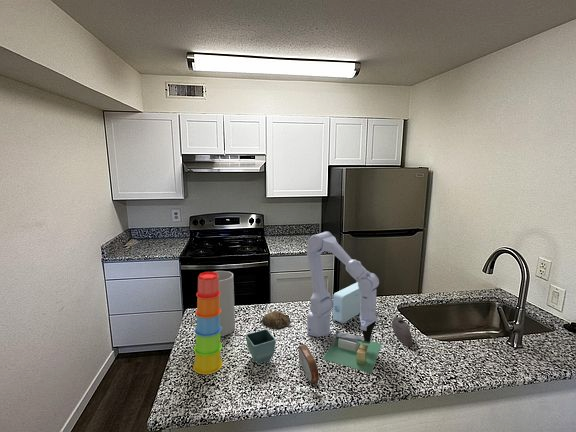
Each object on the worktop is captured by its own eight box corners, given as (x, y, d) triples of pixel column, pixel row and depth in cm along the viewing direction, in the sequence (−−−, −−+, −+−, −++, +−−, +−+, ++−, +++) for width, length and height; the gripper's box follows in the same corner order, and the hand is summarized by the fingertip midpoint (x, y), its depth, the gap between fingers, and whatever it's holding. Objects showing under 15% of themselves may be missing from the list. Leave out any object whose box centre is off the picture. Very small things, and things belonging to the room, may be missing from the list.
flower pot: (254, 369, 110) (253, 346, 108) (245, 356, 117) (245, 334, 116) (276, 362, 114) (276, 339, 112) (267, 349, 121) (266, 328, 120)
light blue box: (343, 325, 140) (343, 297, 138) (332, 320, 144) (333, 293, 142) (369, 308, 156) (370, 283, 154) (359, 304, 160) (360, 280, 158)
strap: (332, 339, 123) (332, 335, 123) (335, 334, 127) (335, 331, 126) (369, 344, 116) (369, 341, 116) (372, 339, 120) (371, 335, 120)
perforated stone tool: (416, 350, 120) (417, 334, 119) (402, 350, 120) (403, 334, 119) (402, 330, 135) (403, 315, 134) (390, 330, 135) (391, 315, 134)
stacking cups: (206, 354, 118) (202, 268, 113) (228, 361, 114) (224, 272, 108) (187, 370, 109) (181, 277, 104) (210, 378, 105) (205, 282, 99)
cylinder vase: (240, 326, 139) (239, 273, 135) (222, 340, 128) (220, 283, 124) (219, 320, 145) (216, 269, 141) (200, 333, 134) (197, 278, 130)
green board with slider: (322, 360, 114) (322, 349, 113) (338, 334, 132) (338, 325, 131) (371, 375, 106) (371, 363, 105) (381, 345, 124) (382, 335, 123)
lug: (356, 363, 111) (356, 351, 110) (360, 354, 116) (360, 343, 115) (364, 365, 110) (365, 354, 109) (368, 357, 115) (368, 346, 114)
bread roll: (258, 321, 144) (258, 311, 143) (278, 313, 152) (278, 303, 151) (275, 332, 134) (275, 322, 133) (296, 323, 142) (296, 313, 142)
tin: (319, 388, 100) (320, 364, 99) (310, 389, 99) (310, 366, 98) (305, 360, 115) (305, 339, 113) (296, 361, 114) (296, 340, 112)
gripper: (375, 316, 108) (373, 351, 110) (382, 300, 121) (381, 332, 123) (355, 312, 111) (354, 346, 113) (364, 297, 124) (363, 328, 126)
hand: (367, 339), depth 119 cm, fingers closed, pressing on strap
